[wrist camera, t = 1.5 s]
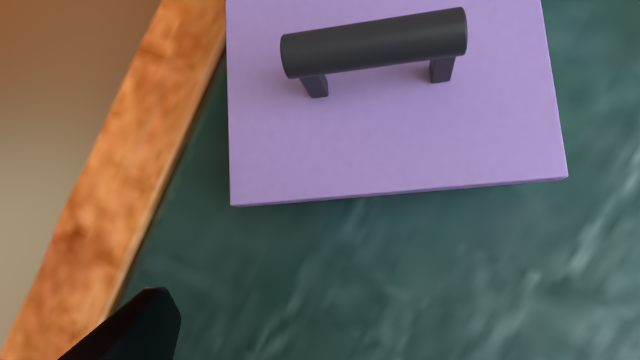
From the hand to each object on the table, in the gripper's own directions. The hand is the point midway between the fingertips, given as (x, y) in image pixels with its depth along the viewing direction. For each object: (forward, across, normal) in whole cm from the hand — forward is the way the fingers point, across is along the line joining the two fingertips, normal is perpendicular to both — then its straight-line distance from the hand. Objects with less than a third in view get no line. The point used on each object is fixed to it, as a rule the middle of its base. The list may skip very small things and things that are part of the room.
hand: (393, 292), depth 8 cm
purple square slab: (+13, 0, -2) cm, 13 cm away
